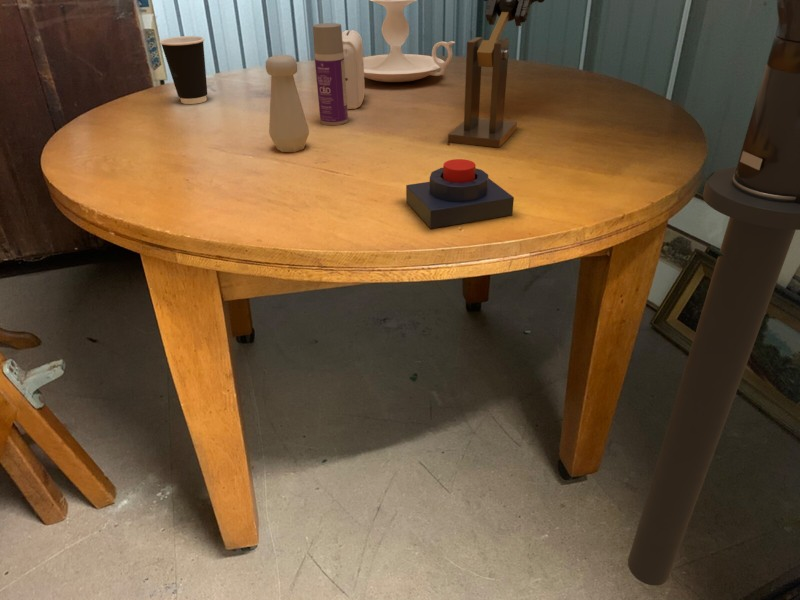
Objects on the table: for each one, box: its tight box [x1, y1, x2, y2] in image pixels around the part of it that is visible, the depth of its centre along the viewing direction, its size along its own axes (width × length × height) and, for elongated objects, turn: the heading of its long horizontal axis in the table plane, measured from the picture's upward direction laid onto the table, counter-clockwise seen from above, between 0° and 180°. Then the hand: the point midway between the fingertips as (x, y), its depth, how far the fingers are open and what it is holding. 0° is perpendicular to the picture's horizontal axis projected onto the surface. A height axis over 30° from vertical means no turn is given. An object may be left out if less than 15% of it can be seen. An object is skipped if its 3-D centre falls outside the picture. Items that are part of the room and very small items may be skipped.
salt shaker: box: [265, 54, 310, 153], centre depth 87 cm, size 6×6×13 cm
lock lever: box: [477, 0, 519, 68], centre depth 90 cm, size 14×4×4 cm, turn 156°
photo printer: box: [342, 29, 366, 110], centre depth 109 cm, size 10×4×12 cm, turn 177°
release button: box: [442, 158, 477, 183], centre depth 68 cm, size 4×4×2 cm
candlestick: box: [363, 0, 456, 83], centre depth 120 cm, size 21×25×28 cm
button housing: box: [405, 167, 515, 230], centre depth 69 cm, size 10×8×4 cm
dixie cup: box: [158, 35, 208, 105], centre depth 113 cm, size 8×8×11 cm
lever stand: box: [447, 36, 518, 149], centre depth 90 cm, size 10×8×14 cm
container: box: [312, 22, 349, 126], centre depth 98 cm, size 5×5×15 cm
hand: (504, 21), depth 91 cm, fingers closed on lock lever, 3 cm apart
